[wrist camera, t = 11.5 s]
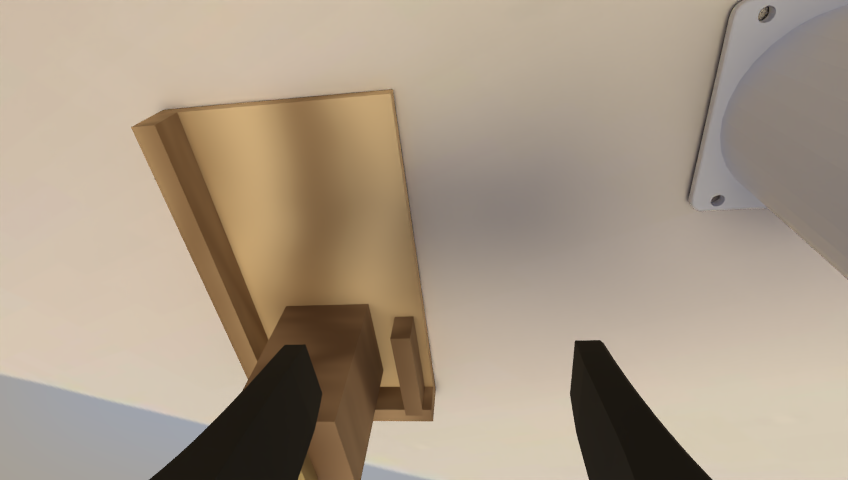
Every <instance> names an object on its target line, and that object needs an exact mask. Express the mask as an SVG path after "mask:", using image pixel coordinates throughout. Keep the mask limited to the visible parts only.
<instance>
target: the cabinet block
mask: <svg viewBox="0 0 848 480" xmlns="http://www.w3.org/2000/svg"><path fill="white" fill-rule="evenodd" d="M303 344H306V347H307V350H308V353H309V356H310V359H311V362H312V365H313V368H314V370H315V373H316V376H317V379H318V382H319V385H320V388H321V391H322V398H321V403H320V408H319V413H318V418H317V422H316V427H315V431H314V434H313V437H312V440H311V443H310V446H309V449H308V452H307V455H306V458H305V460H304V463H303V466H302V469H301V472H300V475H299V478H298V480H361V476H362V471H363V466H364V462H365V457H366V452H367V447H368V442H369V438H370V433H371V428H372V423H373V418H374V414H375V409H376V404H377V399H378V394H379V390H380V385H381V380H382V375H383V366H382V361H381V357H380V352H379V348H378V344H377V339H376V335H375V330H374V326H373V321H372V317H371V313H370V308H369V304H346V305H307V306H286V307H285V309H284V311H283V313H282V315H281V317H280V319H279V321H278V323H277V325H276V327H275V329H274V331H273V333H272V335H271V336H270V338H269V340H268V342H267V344H266V346H265V348H264V350H263V352H262V354H261V356H260V358H259V360H258V362H257V364H256V366H255V368H254V370H253V372H252V373H251V375H250V377H249V379H248V381H247V383H246V385H245V387H244V389H245V388H246V387H247V386H248V385H249V384H250V382H251V381H252V380H253V379H254V378H255V377H256V376H257V375H258V374H259V372H260V371H261V370H262V369H263V368H264V367H265V366H266V365H267V364H268V362H269V361H270V360H271V359H272V358H273V357H274V356H275V355H276V354H277V353H278V351H279V350H280V349H281V348H282V347H283V346H284V345H303ZM244 389H243V390H244Z"/></svg>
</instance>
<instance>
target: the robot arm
mask: <svg viewBox="0 0 848 480" xmlns="http://www.w3.org/2000/svg"><path fill="white" fill-rule="evenodd" d="M766 6H768V7H769V14H768V16H767V17H766V18H765V19H764V20H761V21H759V20H758V15H759V13H760V11H761V10H762V9H763V8H764V7H766ZM717 195H721V196H720V198H719V199H718V200H716V201H714V202H711V200H712V198H713V197H715V196H717ZM689 203H690V205H691V206H692V207H693V209H695V210H697V211H718V210H739V209H759V208H769V209H770V210H771V211H772V212H773V213H774V214H775V215H776V216H777V217H779V218H780V219H781V220H782V221H783V222H784V223H785V224H786V225H787V226H789V227H790V228H791V229H792V230H793V231H794V232H795V233H796V234H798V235H799V236H800V237H801V238H802V239H803V240H804V241H805V242H806V243H808V244H809V245H810V246H811V247H812V248H813V249H814V250H815V251H816V252H818V253H819V254H820V255H821V256H822V257H823V258H824V259H825V260H827V261H828V262H829V263H830V264H831V265H832V266H833V267H834V268H835V269H837V270H838V271H839V272H840V273H841V274H842V275H843V276H844V277H845V278H847V279H848V0H742V1H741V2H739V3H738V4H737V5H736V6H735V7H734V8H733V10H732V12H731V14H730V17H729V21H728V26H727V30H726V35H725V39H724V44H723V48H722V52H721V57H720V61H719V66H718V70H717V75H716V79H715V84H714V88H713V92H712V97H711V101H710V106H709V110H708V115H707V119H706V124H705V128H704V133H703V137H702V141H701V146H700V150H699V155H698V159H697V164H696V168H695V173H694V177H693V181H692V186H691V190H690V195H689ZM570 396H571V403H572V409H573V416H574V422H575V428H576V433H577V437H578V441H579V445H580V448H581V452H582V456H583V459H584V463H585V467H586V470H587V474H588V477H589V480H712V479H711V478H710V477H709V476H708V475H707V474H706V472H705V471H704V470H703V469H702V468H701V467H700V466H699V465H698V464H697V463H696V462H695V461H694V460H693V459H692V458H691V456H690V455H689V454H688V453H687V452H686V451H685V450H684V449H683V448H682V446H681V445H680V444H679V443H678V442H677V441H676V440H675V438H674V437H673V436H672V435H671V434H670V433H669V431H668V430H667V429H666V428H665V427H664V425H663V424H662V423H661V422H660V421H659V419H658V418H657V417H656V416H655V414H654V413H653V412H652V411H651V409H650V408H649V407H648V405H647V404H646V403H645V402H644V400H643V399H642V398H641V397H640V395H639V394H638V393H637V391H636V390H635V389H634V387H633V386H632V385H631V383H630V382H629V380H628V379H627V378H626V376H625V375H624V373H623V372H622V370H621V369H620V368H619V366H618V365H617V363H616V362H615V360H614V359H613V357H612V356H611V354H610V353H609V351H608V349H607V348H606V346H605V345H604V343H602V342H601V341H600V340H591V341H575V347H574V358H573V368H572V379H571V390H570ZM321 398H322V391H321V388H320V385H319V382H318V379H317V376H316V373H315V370H314V368H313V365H312V362H311V359H310V356H309V353H308V350H307V347H306V344H303V345H284V346H283V347H282V348H281V349H280V350H279V351H278V353H277V354H276V355H275V356H274V357H273V358H272V359H271V360H270V361H269V362H268V364H267V365H266V366H265V367H264V368H263V369H262V370H261V371H260V372H259V374H258V375H257V376H256V377H255V378H254V379H253V380H252V381H251V382H250V384H249V385H248V386H247V387H246V388H245V389H244V390H243V391H242V392H241V393H240V394H239V395H238V396H237V398H236V399H235V400H234V401H233V402H232V403H231V404H230V405H229V406H228V407H227V408H226V409H225V410H224V411H223V412H222V413H221V414H220V415H219V416H218V417H217V418H216V419H215V420H214V421H213V422H212V423H211V424H210V425H209V426H208V427H207V428H206V429H205V430H204V431H203V432H202V433H201V434H200V435H199V436H198V437H197V438H196V439H195V440H194V441H193V442H192V443H191V444H190V445H189V446H188V447H187V448H185V449H184V450H183V451H182V452H181V453H180V454H179V455H178V456H177V457H175V459H173V460H172V461H171V462H170V463H168V464H167V465H166V466H165V467H164V468H163V469H162V470H160V471H159V472H158V473H157V474H155V475H154V476H153V477H152V478H151V479H150V480H298V478H299V475H300V472H301V469H302V466H303V463H304V460H305V458H306V455H307V452H308V449H309V446H310V443H311V440H312V437H313V434H314V431H315V427H316V422H317V418H318V413H319V408H320V403H321Z"/></svg>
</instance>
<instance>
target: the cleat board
mask: <svg viewBox="0 0 848 480" xmlns="http://www.w3.org/2000/svg"><path fill="white" fill-rule="evenodd" d="M131 128H132V130H133V132H134V134H135V136H136V139H137V141H138V143H139V145H140V147H141V149H142V152H143V154H144V156H145V158H146V160H147V162H148V165H149V167H150V169H151V171H152V173H153V175H154V177H155V180H156V182H157V184H158V186H159V188H160V190H161V193H162V195H163V197H164V199H165V201H166V203H167V206H168V208H169V210H170V212H171V214H172V216H173V219H174V221H175V223H176V225H177V227H178V229H179V231H180V234H181V236H182V238H183V240H184V242H185V244H186V247H187V249H188V251H189V253H190V255H191V257H192V260H193V262H194V264H195V266H196V268H197V270H198V272H199V275H200V277H201V279H202V281H203V283H204V285H205V288H206V290H207V292H208V294H209V296H210V298H211V301H212V303H213V305H214V307H215V309H216V311H217V313H218V316H219V318H220V320H221V322H222V324H223V326H224V329H225V331H226V333H227V335H228V337H229V339H230V342H231V344H232V346H233V348H234V350H235V352H236V354H237V357H238V359H239V361H240V363H241V365H242V367H243V370H244V372H245V374H246V376H247V378H248V379H249V377H250V375H251V373H252V372H253V370H254V368H255V366H256V364H257V362H258V360H259V358H260V356H261V354H262V352H263V350H264V348H265V346H266V344H267V342H268V340H269V338H270V336H271V335H272V333H273V331H274V329H275V327H276V325H277V323H278V321H279V319H280V317H281V315H282V313H283V311H284V309H285V307H286V306H307V305H346V304H369V308H370V313H371V317H372V321H373V326H374V330H375V335H376V339H377V344H378V348H379V352H380V357H381V361H382V366H383V375H382V380H381V385H380V390H379V394H378V399H377V404H376V409H375V414H374V418H373V421H433V415H434V403H435V391H436V389H435V382H434V375H433V368H432V361H431V354H430V347H429V340H428V333H427V326H426V319H425V312H424V305H423V298H422V291H421V284H420V277H419V270H418V263H417V256H416V250H415V243H414V236H413V229H412V222H411V215H410V208H409V201H408V194H407V187H406V180H405V173H404V166H403V159H402V152H401V145H400V138H399V131H398V124H397V117H396V110H395V103H394V96H393V90H382V91H370V92H359V93H348V94H337V95H326V96H314V97H303V98H292V99H281V100H269V101H258V102H247V103H236V104H225V105H213V106H202V107H191V108H180V109H169V110H162V111H160V112H159V113H157V114H155V115H153V116H151V117H149V118H147V119H146V120H144V121H142V122H140V123H138V124H136V125H134V126H133V127H131Z"/></svg>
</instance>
